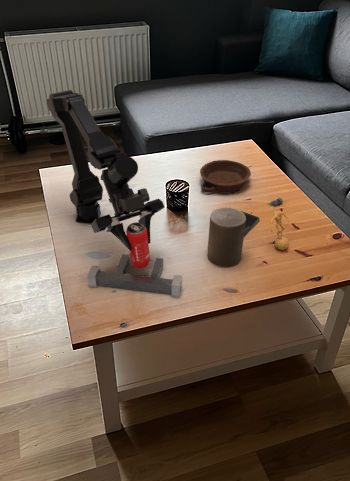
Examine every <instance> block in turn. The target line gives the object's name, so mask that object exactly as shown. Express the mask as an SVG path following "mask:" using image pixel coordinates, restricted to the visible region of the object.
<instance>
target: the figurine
mask: <svg viewBox="0 0 350 481" xmlns="http://www.w3.org/2000/svg"><path fill="white" fill-rule="evenodd" d="M272 215H273V216H272V218H271V220H270V233H272V234H273V233H274V232H275V231H274V229H273V227H274V226H273V222H274V221H275V222H276V224H275V228H276V229H277V232H276V233H277V237H276V238H275V239H274V246H275V248H276V249H277V250H279V251H283V250H286V249H287V248H288V247H289V244H290V242H289V241H290V240H289V239H288V238H287V237H286V236H285V235H284V234H283V231H285V230H286V227H285V225H284V222H283V216H284V217H285V219H287V221H288V222H289V221H290V220H289V218H288V216H287V215H286V213H284V212H283V211H278V210H275V211H274V212H273V214H272Z"/></svg>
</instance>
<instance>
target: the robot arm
mask: <svg viewBox="0 0 350 481" xmlns="http://www.w3.org/2000/svg"><path fill="white" fill-rule="evenodd" d="M46 106H47V109H48V111H49V112H50V113H51V116H52V118H53V119H54V120H55V121H56V122H57V123H58V124H59V125H60V127H61V131H62V134H63V137H64V142H65V144H66V148H67V152H68V155H69V156H68V157H69V159H70V162H71V165H72V170H73V173H74V175H73V178H72V181H71V186H72V191H71V192H70V193H69V194H68V195H69V199H70V202H71V204H73V205H74V206H75V211H76V218H75V222H76V223H85V224H91V228H92V229H91V230H92V232H93V233H94V234H96V233H99V232H103V231H105V230H106V233H111V234H112V235H114V237H116V238H117V239H118V240H119V241H120V242H121V244H123V245H124V246H125V247H126V248H127V250H128V251H129V250H132V248H131V244H130V242H129V240H128V238H127V234H126V231H125V229H124V223H123V222H124V221H127V220H129V219H132V218H135V217H139V219H138V220H137V222H140V223H143V224H144V225H145V227H146V229H147V236H148V244H151V220H152V217H153V216H154V215H155V214H157V213H159V212H161V211H162V210H164V209H165V205H164V202H163V201H162V199H161V198H156V199H152V200H150V199H151V197H150V195H149V192H148V190H147V188H145V187H144V188H139V189H137V193H135V192H134V190H133V189H132V188H130V185H129V184H128V183H129V182H130V181H131V180H132V179H134V177H136V175H137V174H138V171H139V165H138V162H137V161H136V160H135V159H134V158H133V157H131V156H129V155H127V153H125V151H123V150H122V149H121V148H120V147H118V146H117V145H116V143H115V142H114V140H113V139H112V137H110V136H107V135H106V134H104V133H103V132H102V131H101V129H100V127H99V126H98V123H97V122H96V120H95V118H94V117H93V115H92V114H91V111H90V109H89V108H88V106H87V105H86V101H85V98H84V96H83V94H81V93H80V92H73V90H72V89H68V90H64V91H63V90H62V91H58V92H53V93H50V94H49V96H48V98H47V99H46ZM82 138H83V139H84V141H85V143H86V146H87V152H86V150H85V146H84V143H83V140H82ZM89 164H90V165H91V166H92V167H93V168H94V169H95V170H97V169H98V170H99V171H100V170H101V175H100V178H99V176H98V175H96V174H94V172H92V171H91V169H90V165H89ZM100 180H101V181H102V182H103V184H104V187H105V190H106V193H107V195H108V197H109V198H108V202H109V203H110V204H111V205H112V206H111V207H112V208H113V210H114V216H111V215H110V214H105V215H103V216H101V214H102V211H101V205H100V203H99V201H102V200H103V192H104V187H103V185H102V184H101V182H100Z"/></svg>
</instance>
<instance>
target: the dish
mask: <svg viewBox="0 0 350 481" xmlns="http://www.w3.org/2000/svg"><path fill="white" fill-rule="evenodd" d="M199 174H200V176H201V178H202V184H201V186H200V187H201V188H200V190H201V192H203V193H205V194H210V193H222V194H229V193H230V194H231V193H235V192H238V191H240V190H241V189H243V188H244V187H245V185H246V184H247V183H248V182H247V181H248V180H249V179H250V177H251V175H252V173H251V169H250V168H249V167H248V166H246V164H244V163H241V162H238V161H234V160H228V159H221V160H220V159H218V160H212V161H209V162H207V163H205V164H204V165H203V166H202V167H200V169H199Z"/></svg>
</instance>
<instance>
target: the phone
mask: <svg viewBox="0 0 350 481" xmlns="http://www.w3.org/2000/svg"><path fill="white" fill-rule="evenodd" d="M240 211H241V212H243V213H244V215H245V217H246V221H245V230H244V237H246V236H247V234H248V233H249V232H250V231H251V230H252V229H254V227H255V226H256V225H257V224H258V223H260V217H259V216H256V215H253V214H251V213H248V212H245V211H243V210H240Z"/></svg>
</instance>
